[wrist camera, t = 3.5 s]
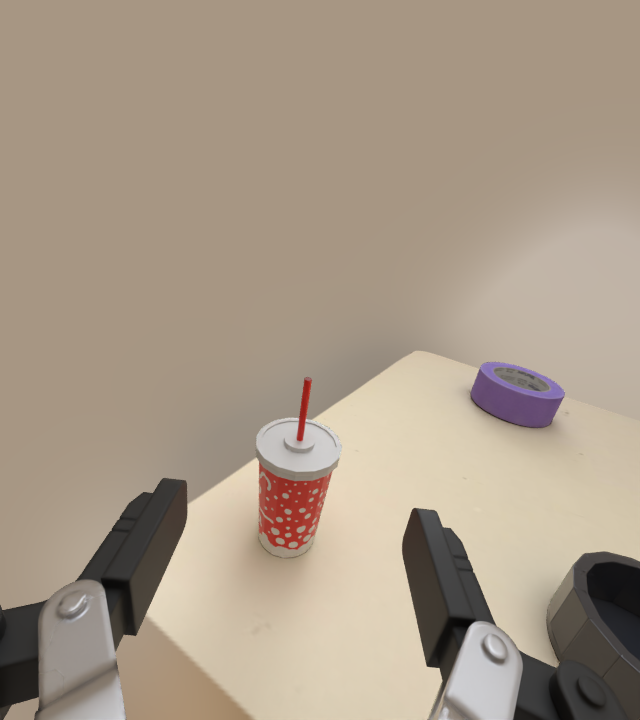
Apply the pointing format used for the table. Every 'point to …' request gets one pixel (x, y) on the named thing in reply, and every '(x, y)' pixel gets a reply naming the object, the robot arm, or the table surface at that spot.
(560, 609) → the socket
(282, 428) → the beverage cup
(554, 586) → the table surface
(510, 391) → the tape roll
